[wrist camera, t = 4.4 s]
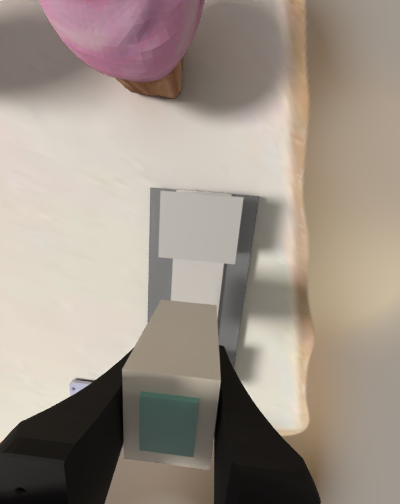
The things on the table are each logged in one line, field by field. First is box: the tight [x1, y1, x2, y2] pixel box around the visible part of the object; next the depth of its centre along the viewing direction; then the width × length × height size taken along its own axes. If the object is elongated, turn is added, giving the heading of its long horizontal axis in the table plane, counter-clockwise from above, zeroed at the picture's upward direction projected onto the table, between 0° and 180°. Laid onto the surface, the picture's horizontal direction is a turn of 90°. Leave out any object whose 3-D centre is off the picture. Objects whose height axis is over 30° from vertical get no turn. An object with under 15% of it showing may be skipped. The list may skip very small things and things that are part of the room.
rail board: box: [148, 188, 259, 368], centre depth 18 cm, size 22×10×5 cm, turn 176°
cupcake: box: [39, 0, 205, 98], centre depth 11 cm, size 9×9×10 cm
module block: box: [122, 300, 221, 470], centre depth 11 cm, size 5×4×6 cm
